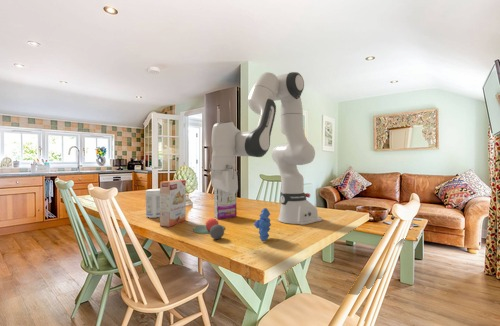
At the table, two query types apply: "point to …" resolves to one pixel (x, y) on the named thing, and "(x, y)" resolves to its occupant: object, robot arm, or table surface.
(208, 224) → the ball
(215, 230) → the ball
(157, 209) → the supplement tub
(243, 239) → the table surface
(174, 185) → the cracker box
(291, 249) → the table surface
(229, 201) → the candy bar box
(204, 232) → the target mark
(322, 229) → the table surface
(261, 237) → the grapes
